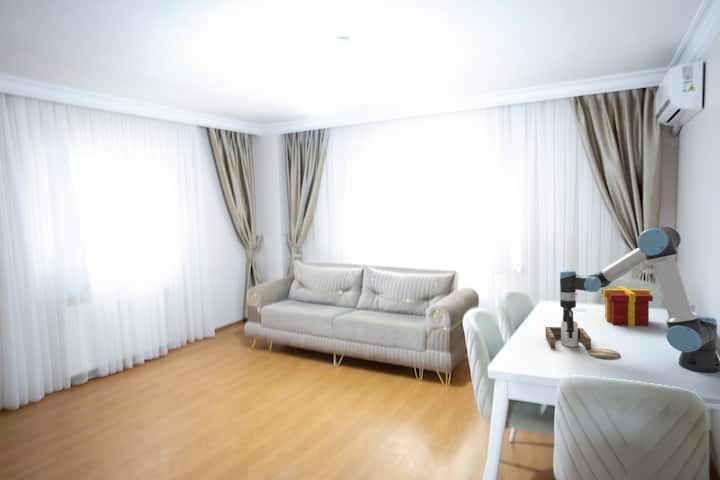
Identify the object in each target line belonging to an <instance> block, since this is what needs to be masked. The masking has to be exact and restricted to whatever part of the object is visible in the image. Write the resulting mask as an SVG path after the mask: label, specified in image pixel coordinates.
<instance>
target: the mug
mask: <svg viewBox="0 0 720 480" xmlns="http://www.w3.org/2000/svg"><path fill="white" fill-rule="evenodd" d="M573 325H574V332H573V344H567V332H566V330H568V329H567V322H565V321H563V320H561V322H560V327H561V339H560V345H561V344H562V346H563V345H564V346H563V347H567V346H569V347H570V348H575V347H578V346H579V339H578V328H579V327H578V326H579V324H578V322H577V321H574V320H573ZM569 347H568V348H569Z"/></svg>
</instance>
